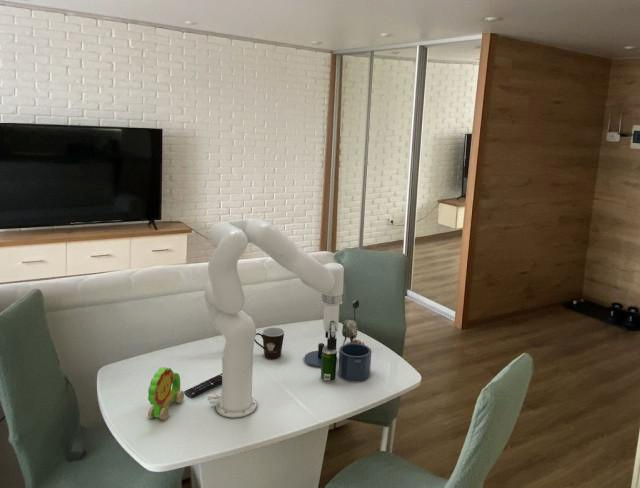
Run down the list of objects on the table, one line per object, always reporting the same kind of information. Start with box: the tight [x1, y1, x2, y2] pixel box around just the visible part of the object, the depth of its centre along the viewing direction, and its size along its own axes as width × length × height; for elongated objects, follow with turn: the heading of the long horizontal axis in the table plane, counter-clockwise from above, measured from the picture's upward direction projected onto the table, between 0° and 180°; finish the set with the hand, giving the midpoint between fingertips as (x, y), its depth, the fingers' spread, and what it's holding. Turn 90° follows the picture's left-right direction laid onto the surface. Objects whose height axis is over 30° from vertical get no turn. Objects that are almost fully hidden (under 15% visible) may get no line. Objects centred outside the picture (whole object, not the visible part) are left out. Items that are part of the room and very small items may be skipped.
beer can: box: [320, 345, 338, 384], centre depth 190 cm, size 5×5×12 cm
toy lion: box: [147, 366, 185, 421], centre depth 164 cm, size 16×6×15 cm, turn 170°
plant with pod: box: [341, 298, 365, 346], centre depth 217 cm, size 8×11×20 cm
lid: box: [303, 342, 338, 368], centre depth 205 cm, size 13×13×7 cm
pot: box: [337, 341, 372, 383], centre depth 195 cm, size 12×17×10 cm
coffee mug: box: [254, 327, 285, 361], centre depth 207 cm, size 12×9×10 cm
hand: (330, 343), depth 189 cm, fingers open, 9 cm apart
